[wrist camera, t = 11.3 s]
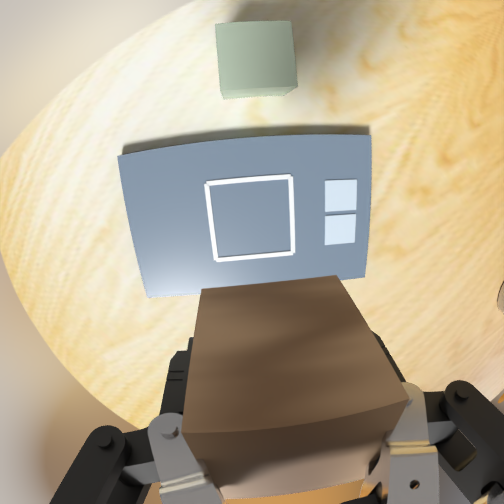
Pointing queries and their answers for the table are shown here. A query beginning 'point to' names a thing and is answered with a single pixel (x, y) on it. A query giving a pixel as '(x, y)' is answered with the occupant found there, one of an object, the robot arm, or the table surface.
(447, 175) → the table surface
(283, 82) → the sage block
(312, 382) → the walnut block
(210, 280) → the board
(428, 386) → the table surface
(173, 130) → the table surface
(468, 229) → the table surface
